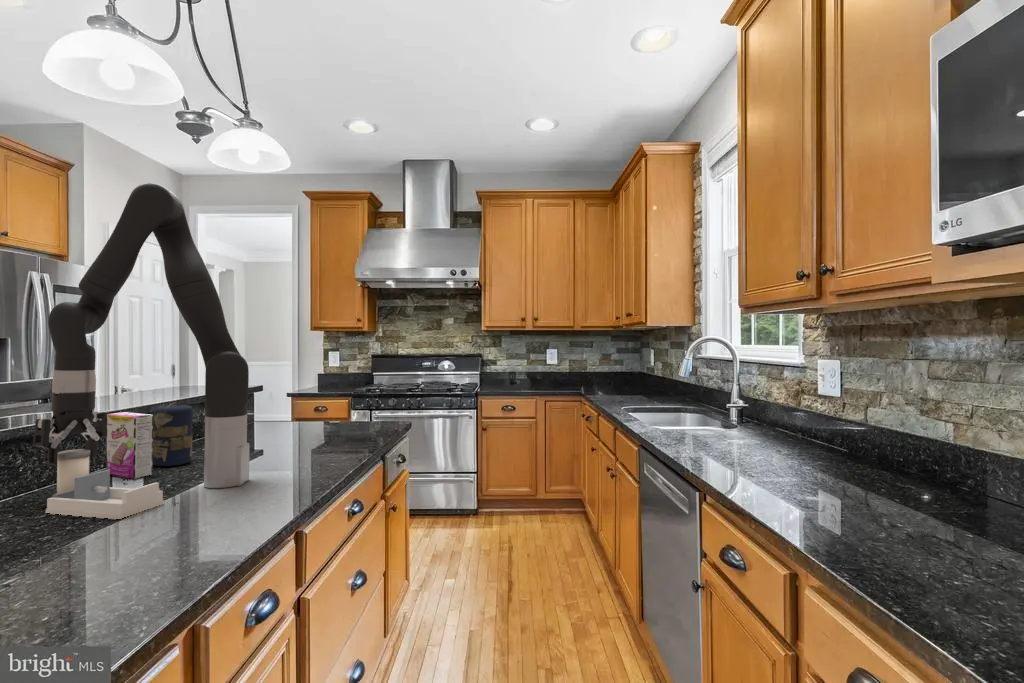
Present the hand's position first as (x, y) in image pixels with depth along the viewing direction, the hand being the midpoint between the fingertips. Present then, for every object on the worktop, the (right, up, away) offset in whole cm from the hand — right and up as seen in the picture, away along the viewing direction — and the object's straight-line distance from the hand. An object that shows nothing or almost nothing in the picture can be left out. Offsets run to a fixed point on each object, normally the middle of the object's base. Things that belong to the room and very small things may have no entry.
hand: (71, 460), depth 113 cm
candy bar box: (-1, -9, +18) cm, 20 cm away
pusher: (+13, -7, -8) cm, 16 cm away
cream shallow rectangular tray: (+15, -8, -8) cm, 19 cm away
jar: (0, -8, 0) cm, 8 cm away
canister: (+2, -9, +31) cm, 32 cm away
